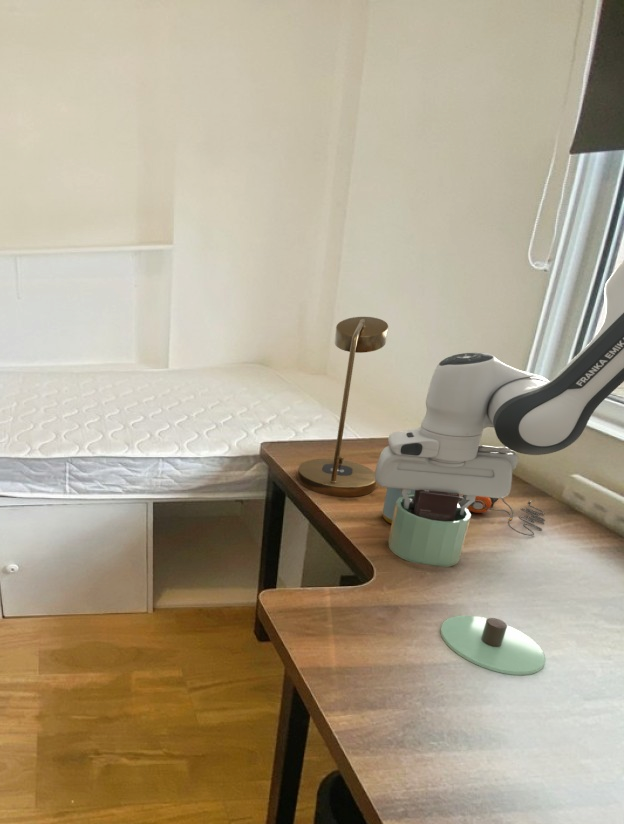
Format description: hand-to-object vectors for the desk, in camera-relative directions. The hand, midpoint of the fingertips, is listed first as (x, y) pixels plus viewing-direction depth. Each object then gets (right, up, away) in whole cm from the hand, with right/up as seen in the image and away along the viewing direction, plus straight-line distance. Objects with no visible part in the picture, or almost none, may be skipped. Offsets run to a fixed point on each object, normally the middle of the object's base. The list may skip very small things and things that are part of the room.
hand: (432, 511), depth 104 cm
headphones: (+23, -2, +16) cm, 28 cm away
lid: (-7, -18, -21) cm, 29 cm away
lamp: (+3, +5, +37) cm, 37 cm away
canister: (+1, -8, +3) cm, 9 cm away
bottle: (+4, -4, +14) cm, 15 cm away
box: (0, -2, +1) cm, 3 cm away
